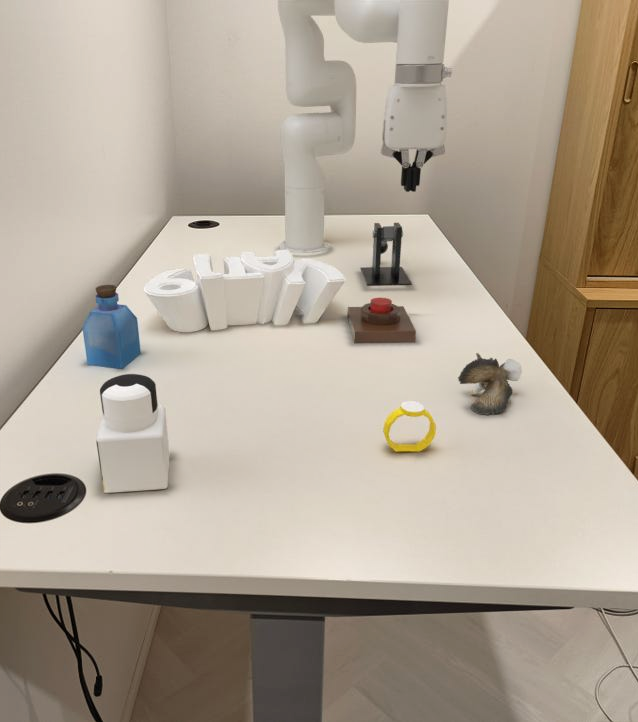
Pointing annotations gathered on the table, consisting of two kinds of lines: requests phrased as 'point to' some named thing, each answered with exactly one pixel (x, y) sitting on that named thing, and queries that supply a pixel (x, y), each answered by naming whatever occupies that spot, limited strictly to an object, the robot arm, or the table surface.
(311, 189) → the robot arm
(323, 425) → the table surface
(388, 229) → the press lever
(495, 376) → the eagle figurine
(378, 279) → the lever bracket
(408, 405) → the watch
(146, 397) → the medicine bottle
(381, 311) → the button
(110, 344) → the perfume bottle
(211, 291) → the white letter sculpture
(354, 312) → the button block
